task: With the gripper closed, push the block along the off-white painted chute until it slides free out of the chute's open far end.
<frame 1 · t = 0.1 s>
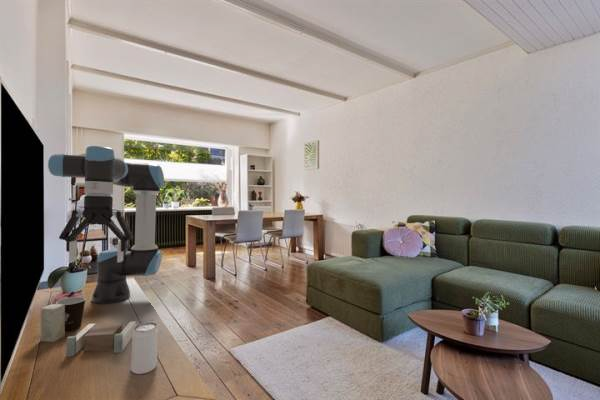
hand: (96, 261, 93), 28 cm above the table, tool pointing down, fingers open, 13 cm apart
block: (104, 344, 97), on the table
can: (144, 369, 84), on the table
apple: (68, 316, 117), on the table
box: (52, 339, 99), on the table
coffee mug: (67, 327, 107), on the table
chute: (104, 343, 97), on the table
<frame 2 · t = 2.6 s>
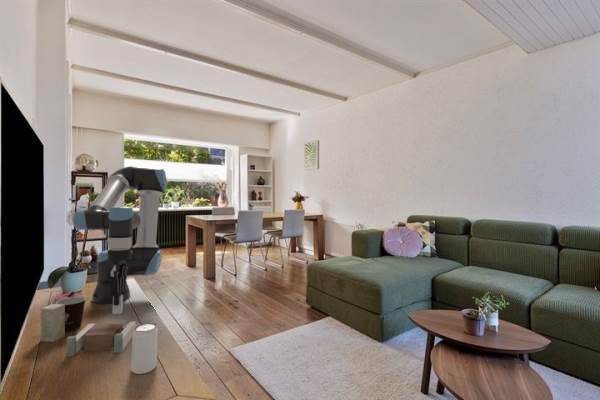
hand: (117, 312, 107), 6 cm above the table, tool pointing down, fingers closed
nothing on the table moved.
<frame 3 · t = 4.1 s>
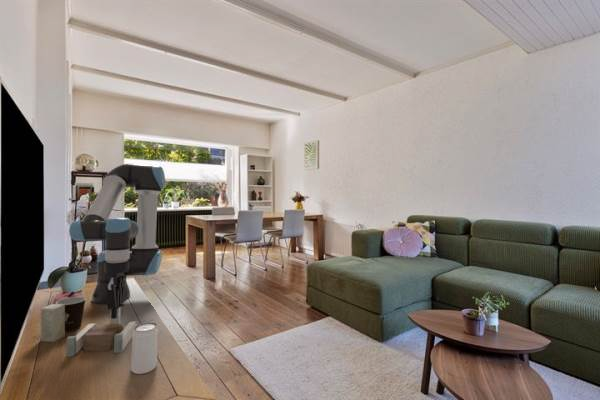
hand: (115, 325, 105), 2 cm above the table, tool pointing down, fingers closed
nothing on the table moved.
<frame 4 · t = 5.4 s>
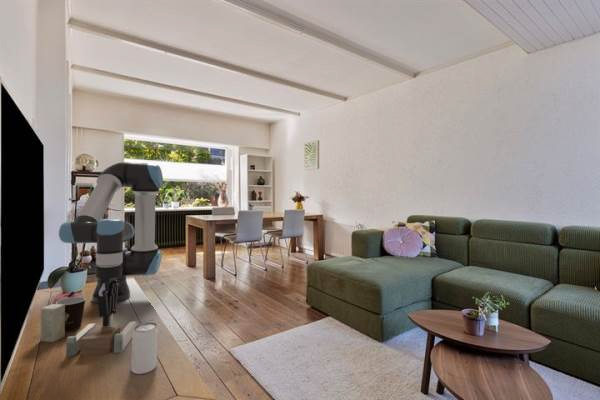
hand: (107, 334, 99), 2 cm above the table, tool pointing down, fingers closed
block: (101, 347, 94), on the table, touching gripper
everything else where it was.
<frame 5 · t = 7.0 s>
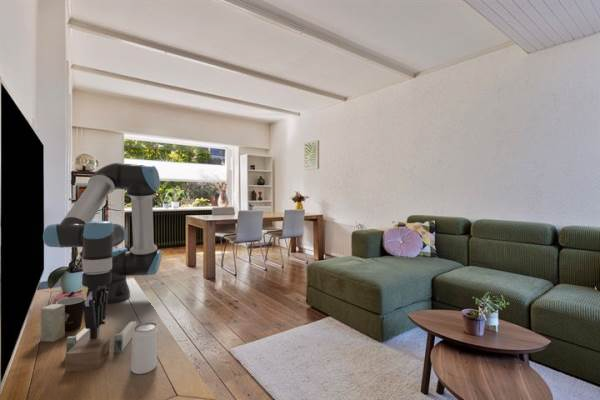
hand: (95, 347, 90), 2 cm above the table, tool pointing down, fingers closed
block: (88, 362, 86), on the table, touching gripper
everything else where it was.
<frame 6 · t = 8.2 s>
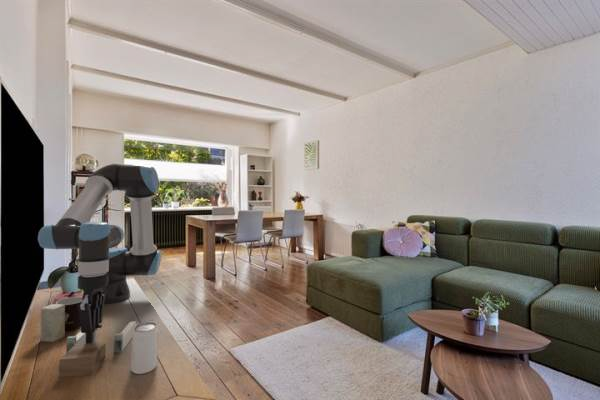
hand: (91, 351, 88), 2 cm above the table, tool pointing down, fingers closed
block: (83, 368, 83), on the table
everything else where it was.
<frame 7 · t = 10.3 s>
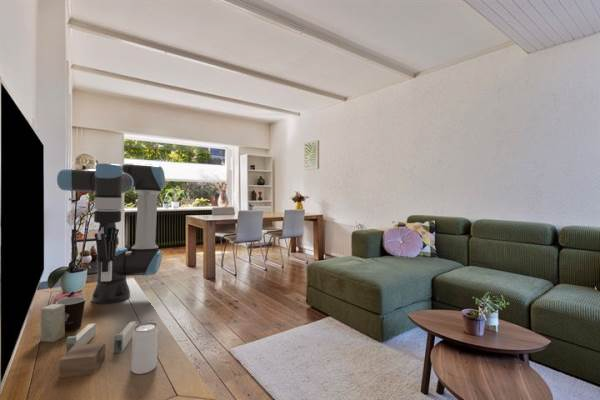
hand: (106, 280, 97), 21 cm above the table, tool pointing down, fingers closed
nothing on the table moved.
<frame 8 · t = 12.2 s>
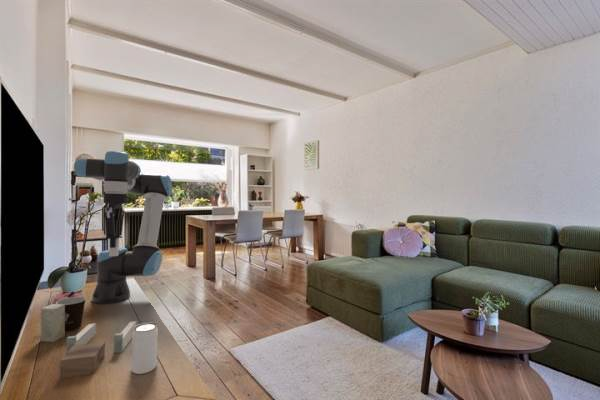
hand: (113, 255, 110), 26 cm above the table, tool pointing down, fingers closed
nothing on the table moved.
at the end: block inside the target area (3.2 cm from its centre), on the table; block tilted 0° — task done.
